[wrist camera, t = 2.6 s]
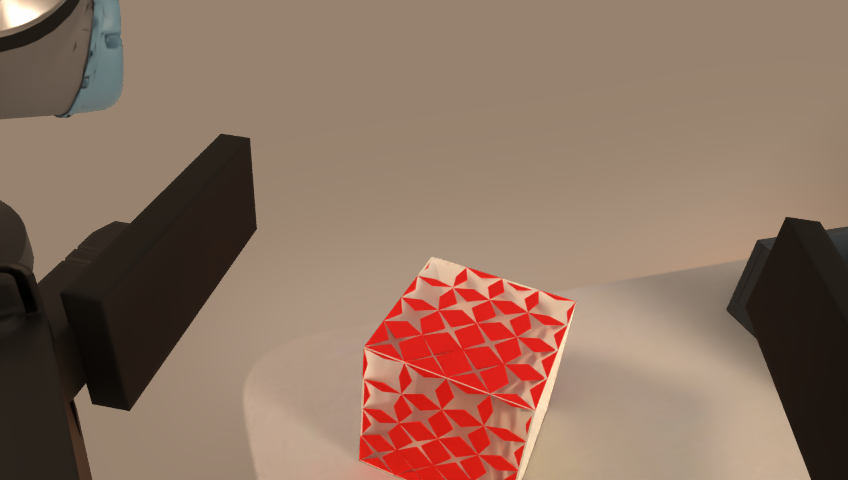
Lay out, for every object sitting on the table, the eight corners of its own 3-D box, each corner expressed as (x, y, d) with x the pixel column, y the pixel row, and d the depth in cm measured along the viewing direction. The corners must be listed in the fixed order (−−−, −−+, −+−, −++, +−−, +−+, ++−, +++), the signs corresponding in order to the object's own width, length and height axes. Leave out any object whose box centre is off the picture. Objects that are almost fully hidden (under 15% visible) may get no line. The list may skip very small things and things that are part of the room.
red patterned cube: (506, 523, 31) (535, 410, 27) (359, 460, 34) (363, 347, 29) (547, 407, 37) (576, 300, 33) (421, 361, 40) (432, 254, 35)
